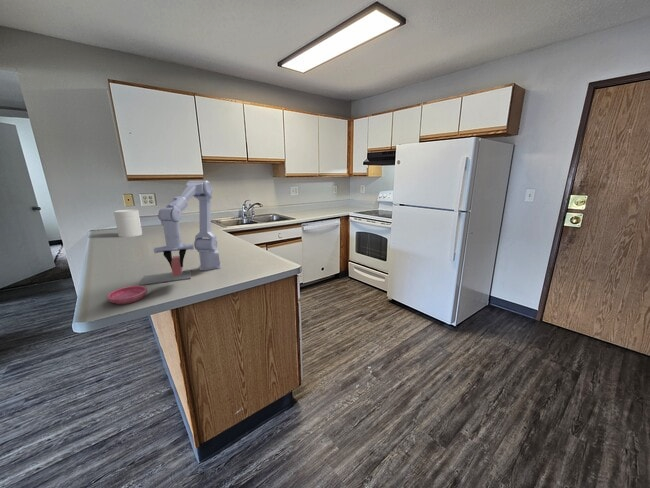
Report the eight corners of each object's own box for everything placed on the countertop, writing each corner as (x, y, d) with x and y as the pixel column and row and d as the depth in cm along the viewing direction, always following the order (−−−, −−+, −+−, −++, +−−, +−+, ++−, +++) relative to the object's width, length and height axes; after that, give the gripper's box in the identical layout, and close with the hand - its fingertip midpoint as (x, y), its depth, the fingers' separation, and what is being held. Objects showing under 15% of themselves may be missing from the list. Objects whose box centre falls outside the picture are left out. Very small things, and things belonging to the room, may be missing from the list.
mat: (191, 270, 133) (191, 269, 133) (190, 278, 122) (190, 277, 122) (144, 276, 125) (144, 275, 124) (138, 285, 114) (138, 284, 114)
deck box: (182, 268, 118) (180, 255, 117) (181, 274, 110) (179, 261, 109) (174, 269, 117) (172, 256, 115) (173, 275, 109) (170, 262, 108)
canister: (146, 234, 219) (142, 210, 214) (125, 237, 205) (120, 212, 200) (135, 232, 226) (131, 209, 221) (114, 235, 212) (109, 211, 208)
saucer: (120, 309, 94) (119, 301, 93) (101, 302, 99) (99, 294, 98) (155, 295, 105) (153, 288, 104) (135, 290, 110) (134, 283, 109)
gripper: (150, 239, 103) (156, 272, 107) (191, 236, 109) (195, 267, 113) (153, 236, 110) (158, 267, 113) (192, 233, 115) (196, 262, 119)
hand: (177, 267), depth 113 cm, fingers closed on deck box, 3 cm apart
